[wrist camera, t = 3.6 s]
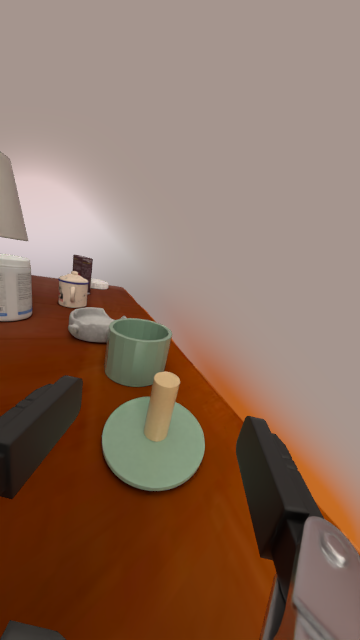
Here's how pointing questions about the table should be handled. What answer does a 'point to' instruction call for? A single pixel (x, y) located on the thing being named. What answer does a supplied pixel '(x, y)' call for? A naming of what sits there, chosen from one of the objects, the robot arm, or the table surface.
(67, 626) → the table surface
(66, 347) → the table surface
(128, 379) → the canister
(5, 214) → the lamp
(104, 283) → the mooncake
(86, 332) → the dish
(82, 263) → the supplement box
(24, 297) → the supplement tub
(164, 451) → the lid
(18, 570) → the table surface
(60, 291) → the teacup with lid
